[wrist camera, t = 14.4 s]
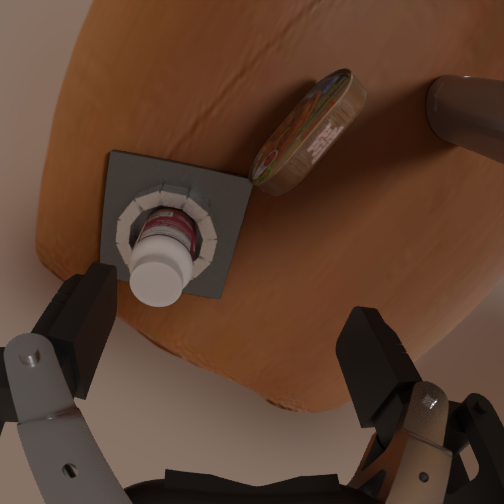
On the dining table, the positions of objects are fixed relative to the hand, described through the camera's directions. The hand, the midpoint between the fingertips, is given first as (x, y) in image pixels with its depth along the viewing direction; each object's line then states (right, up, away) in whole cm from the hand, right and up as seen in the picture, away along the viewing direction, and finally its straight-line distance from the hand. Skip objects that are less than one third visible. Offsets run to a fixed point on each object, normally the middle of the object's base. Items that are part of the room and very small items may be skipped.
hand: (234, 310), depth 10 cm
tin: (+5, +16, +23) cm, 28 cm away
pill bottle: (-9, +4, +26) cm, 28 cm away
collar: (-9, +5, +27) cm, 29 cm away
